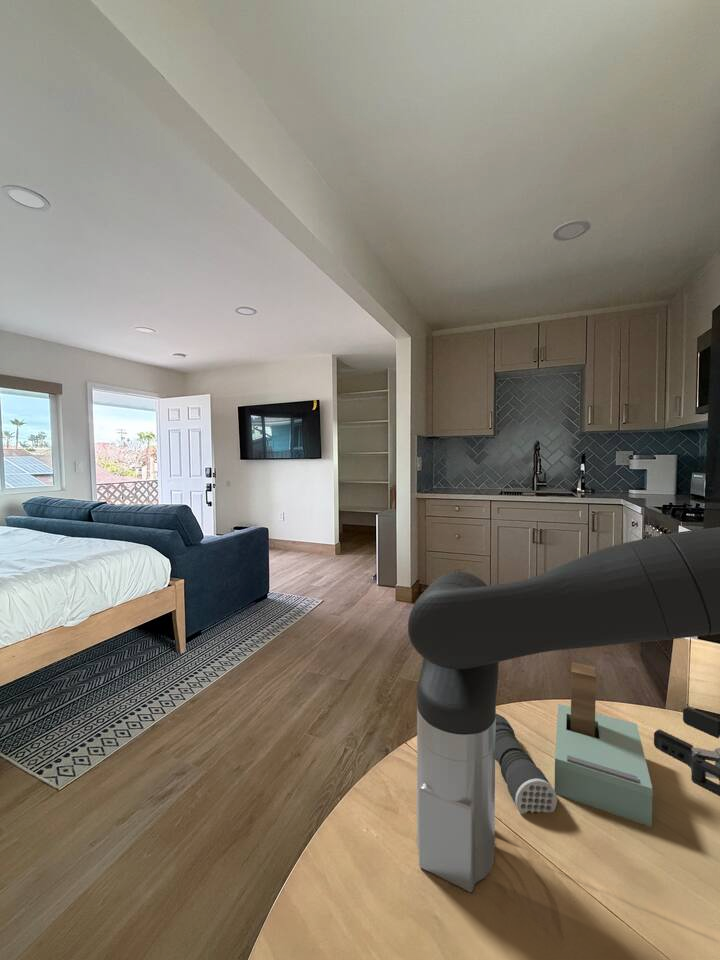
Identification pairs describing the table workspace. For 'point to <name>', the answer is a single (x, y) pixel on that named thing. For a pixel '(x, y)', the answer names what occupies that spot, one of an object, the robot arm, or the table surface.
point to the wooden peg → (583, 699)
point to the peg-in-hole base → (604, 767)
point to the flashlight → (521, 773)
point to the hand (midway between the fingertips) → (670, 725)
